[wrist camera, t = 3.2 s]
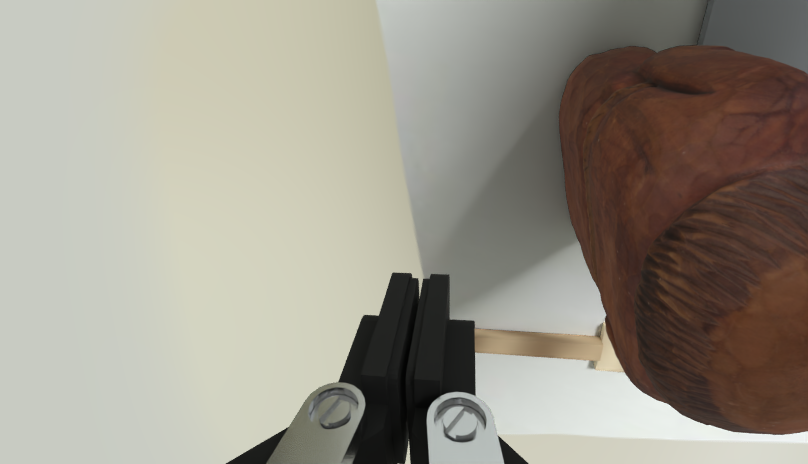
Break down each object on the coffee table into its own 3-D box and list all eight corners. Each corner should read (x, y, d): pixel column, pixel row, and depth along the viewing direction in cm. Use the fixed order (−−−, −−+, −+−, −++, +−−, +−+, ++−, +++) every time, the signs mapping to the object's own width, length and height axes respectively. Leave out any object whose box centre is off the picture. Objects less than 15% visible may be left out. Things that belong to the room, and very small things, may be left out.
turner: (468, 355, 34) (468, 364, 34) (470, 314, 32) (469, 323, 31) (702, 372, 32) (708, 382, 31) (719, 328, 30) (727, 338, 29)
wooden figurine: (663, 222, 26) (932, 525, 11) (559, 235, 28) (663, 516, 12) (671, 24, 21) (1202, 53, 6) (545, 54, 23) (688, 140, 7)
